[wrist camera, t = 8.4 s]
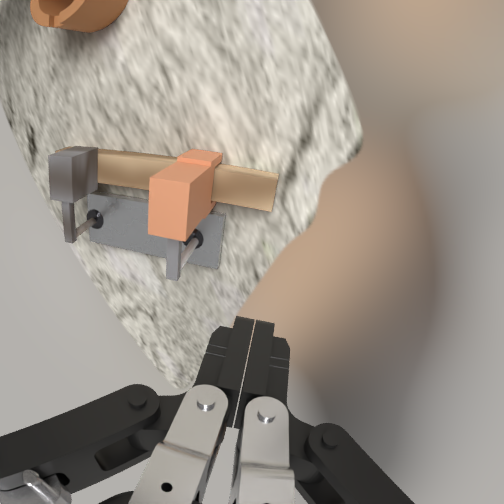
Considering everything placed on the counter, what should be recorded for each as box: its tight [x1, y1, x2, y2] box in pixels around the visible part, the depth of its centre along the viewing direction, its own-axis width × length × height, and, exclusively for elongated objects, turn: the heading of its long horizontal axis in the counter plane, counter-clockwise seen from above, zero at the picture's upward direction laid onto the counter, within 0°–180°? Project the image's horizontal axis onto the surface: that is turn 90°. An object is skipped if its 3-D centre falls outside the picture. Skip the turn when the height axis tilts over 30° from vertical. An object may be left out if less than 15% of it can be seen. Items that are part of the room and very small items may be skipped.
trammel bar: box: [48, 146, 279, 243], centre depth 29 cm, size 9×24×7 cm, turn 81°
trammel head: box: [148, 149, 222, 281], centre depth 28 cm, size 10×3×10 cm, turn 171°
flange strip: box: [87, 191, 226, 269], centre depth 34 cm, size 6×16×1 cm, turn 81°
